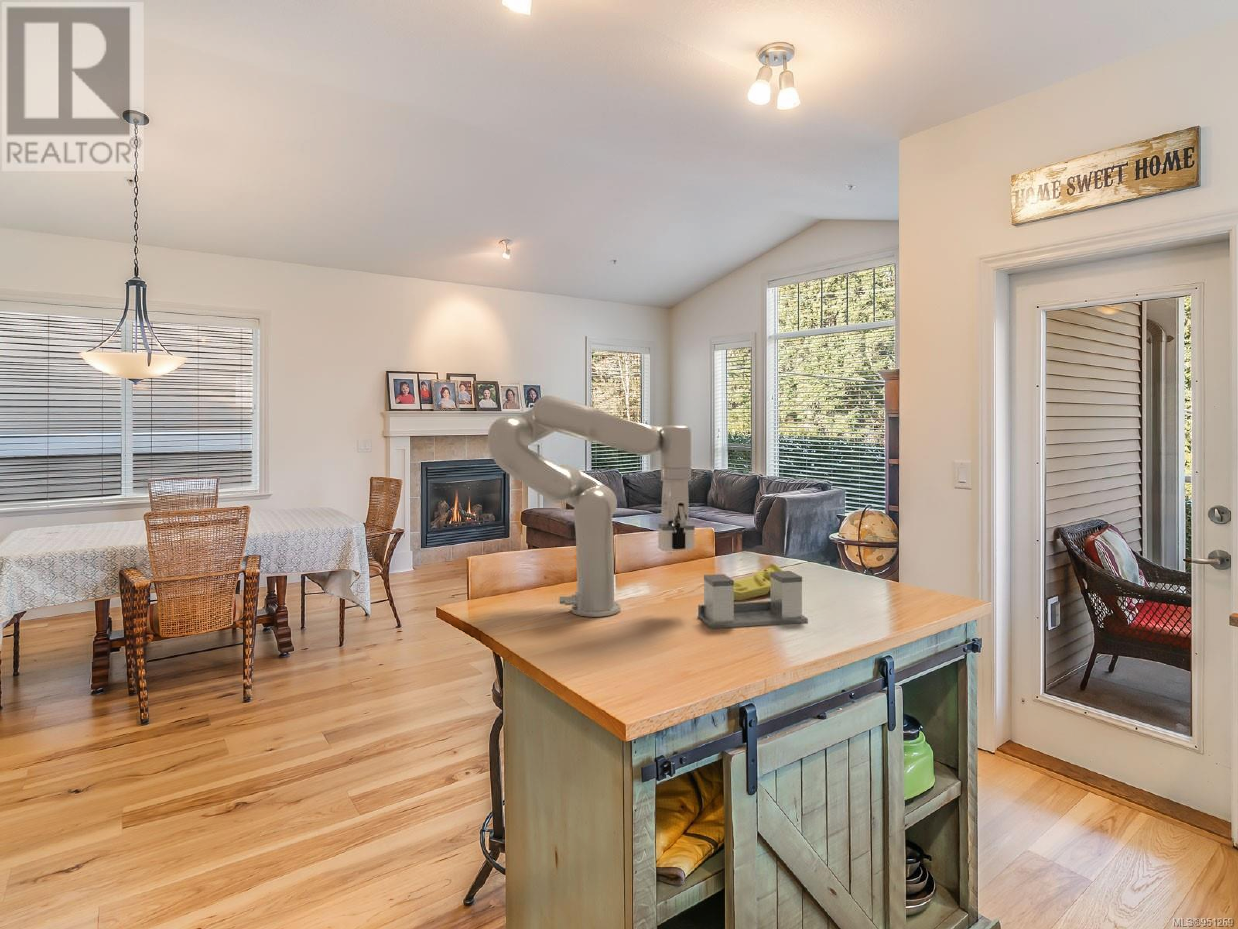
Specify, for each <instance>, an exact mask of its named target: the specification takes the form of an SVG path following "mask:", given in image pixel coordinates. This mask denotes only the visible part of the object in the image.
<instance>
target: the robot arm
mask: <svg viewBox="0 0 1238 929" xmlns="http://www.w3.org/2000/svg"><path fill="white" fill-rule="evenodd" d="M555 432H556V433H558V434H559V433H560V434H563V435H568V436H570V437H575V438H577V439H581V440H584V441H588V442H590V443H594V444H599V445H603V446H607V447H610V448H613V449H617V450H620V451H624V452H626V453H627V452H628V453H631V454H635V455H637V456H647V455H648V456H649V455H650V454H658V453H659V454H660V481H662V490H661V517H662V519H663V518H664V519H665V520H666V524H670V523H673V530H674V533H672V548H673V549H685V523H687V520H688V519H689V511H690V507H689V506H690V505H689V502H690V501H689V500H690V499H689V483H688V482H691V481H692V431H691V427H689V426H687V425H678V424H677V425H675V424H674V425H665V426H659V425H658V426H657V425H652V424H651V425H650V424H643V423H641V422H637V421H633V420H631V419H630V420H629V419H626V418H623V417H619V416H615V415H613V414H610V413H608V412H606V411H604V410H602V409H599V408H597V407H593V406H589V405H585V404H582V403H578V402H574V401H570V400H567V399H564V398H561V397H557V396H553V395H542V396H541V397H539V398H538V399H536V401H535V402H534V404H533V406H532V407H531V409H528V410H526V411H525V412H523V413H521V414H519V415H517V416H509V415H508V416H503V417H500V418H497V419H496V420H495V421H494V422H493V423H492V424H491V425H490V427H489V429H488V434H487V446H488V450H489V453H490V455H491V457H492V460H493V461H494V463H496V465H497V466H498V467H499V468H500V469H501V470H503V471H504V472H505V473H506V474H508V475H509V476H510V477H513V478H514V479H515V480H517V481H519V482H520V483H522V484H524V485H525V486H526V487H528V488H529V489H531V490H533V491H534V492H536V493H537V494H540V495H542V496H543V497H544V498H545V499H547V500H548V501H550V502H553V503H557V504H563V503H566V504H568V505H570V506H571V507H573V517H574V528H575V545H576V546H575V548H576V549H575V550H576V591H574V594H571V595H570V596H566V595H565V596H563V595H562V596H559V597H558V599H559V601H558V603H559V605H564V606H570V605H571V613H573V615H578V616H581V617H587V618H588V617H589V618H593V617H594V618H596V617H597V618H598V617H600V618H601V617H608V616H612V615H615V614H618V613H619V612H620V611H621V605H620V603H619V602H616V601H615V573H614V572H615V561H614V556H615V555H614V553H615V552H614V531H613V530H614V528H613V527H614V526H613V515H614V514H615V512H616V510H617V509H618V508H617V506H618V500H617V496H616V494H615V492H614V491H613V490H612V489H611V488H610V487H609V486H606V485H605V484H604V483H602V482H600V481H598V480H597V479H595V478H593V477H592V476H590V475H588V474H587V473H585V472H583V471H581V470H580V469H578V468H576V467H574V466H572V465H568V464H566V465H565V464H563V465H562V464H561V465H559V464H556V463H554V462H553V461H550V459H549V460H548V459H547V458H546V457H544V456H542V455H541V454H539V453H537V452H535V451H534V450H532V449H530V448H528V446H530V445H533V443H536V442H537V441H539V440H541V439H543V438H545V437H547V436H549V435H551V434H553V433H555ZM676 523H678V524H677V527H676Z"/></svg>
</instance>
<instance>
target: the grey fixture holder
mask: <svg viewBox="0 0 1238 929" xmlns="http://www.w3.org/2000/svg"><path fill="white" fill-rule="evenodd" d="M770 577H771V591H770V600H762V601H758V600H757V601H746V602H741V601H740V602H735V600H734V579H733V578H730V577H729V576H728V575H726V574H725V573H721V574H704V575H703V581H704V582H703V583H704V584H703V585H704V586H703V592H704V594H703V595H704V596H703V600H704V602H703V604H698V605H697V617H698V619H700V620H701V621H702V622H703V623H704V624H705V625H706V626H707V627H708V628H709V629H710V630H711V629H712V630H713V629H714V630H715V629H716V630H717V629H727V628H730V629H731V628H743V627H746V628H747V627H759V626H760V627H761V626H773V625H774V626H775V625H791V624H803V623H804V624H805V623H806V624H807V623H808V622H809V619H808V617H806V616H805V615H803V576H801V575H799V574H797V573H796V572H793V571H791V570H783V571H776V572H770Z"/></svg>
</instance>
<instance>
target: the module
mask: <svg viewBox="0 0 1238 929" xmlns="http://www.w3.org/2000/svg"><path fill="white" fill-rule="evenodd" d="M677 524H678V523H676V527H677ZM695 527H696V526H695V525H694V524H692V523H690V522H686V523H685V549H673V548H672V533H674V530H673V523H670V524H667V523H657V528H658V529H657V530H658V533H657V534H658V540H657V542H658V544H657V546H658V549H660V550H661V551H662V552H679V551H682V552H683V551H695V529H696V528H695Z"/></svg>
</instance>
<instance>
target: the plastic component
mask: <svg viewBox="0 0 1238 929" xmlns="http://www.w3.org/2000/svg"><path fill="white" fill-rule="evenodd" d="M776 571H784V570H783V569H782V568H780V566H779V565H777V564H776V563H770V564H769V565H768V566H767V567H766V568H763V569H761V570H758V571H756V572H755V573H754V575H752V576H749V577H748V576H747V577H744V578H739V579H735V580H734V579H733V580H734V601H744V600H749V599H753V598H757V597H760V596H764V595H768V594H769V592H771V577H770V572H776Z"/></svg>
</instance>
